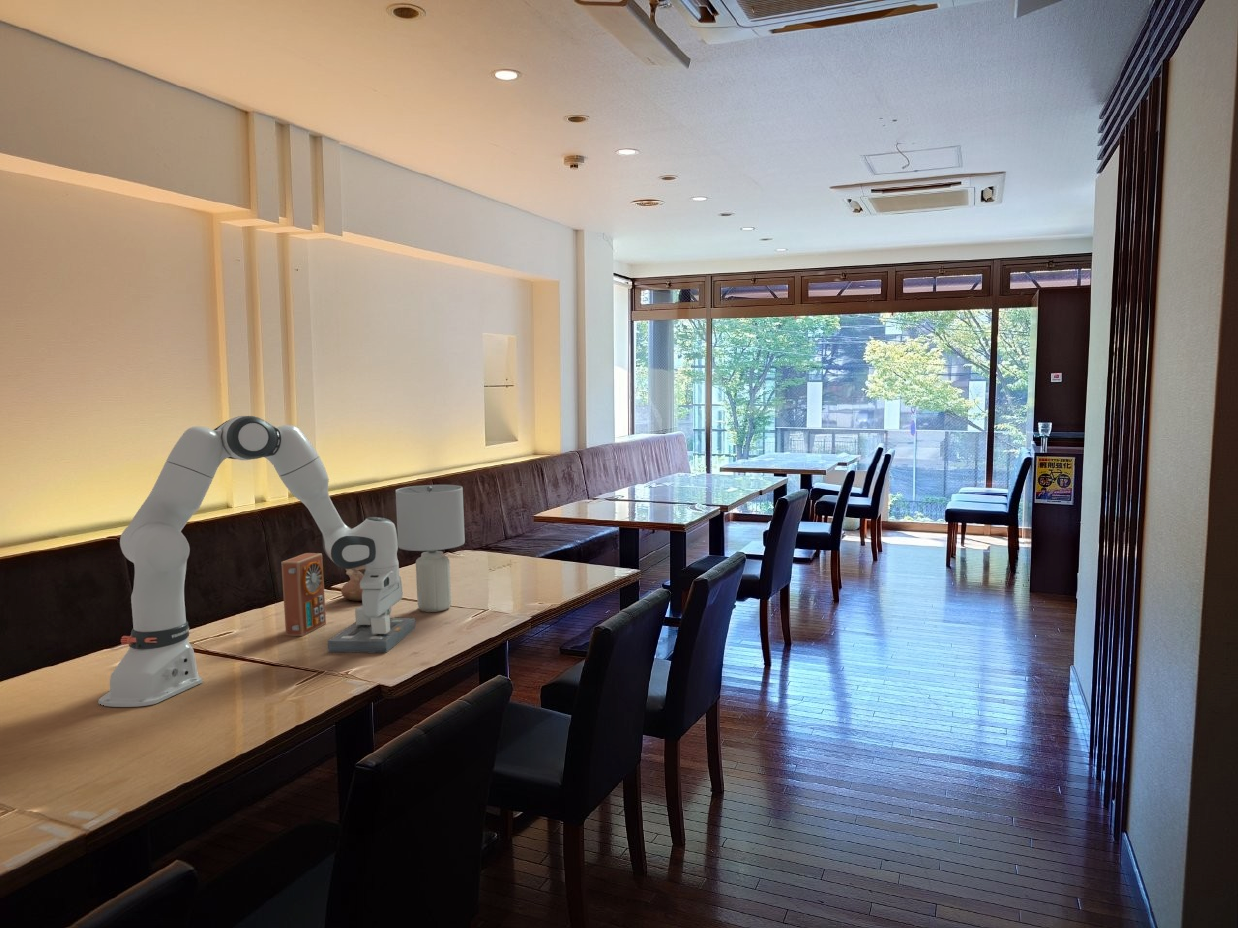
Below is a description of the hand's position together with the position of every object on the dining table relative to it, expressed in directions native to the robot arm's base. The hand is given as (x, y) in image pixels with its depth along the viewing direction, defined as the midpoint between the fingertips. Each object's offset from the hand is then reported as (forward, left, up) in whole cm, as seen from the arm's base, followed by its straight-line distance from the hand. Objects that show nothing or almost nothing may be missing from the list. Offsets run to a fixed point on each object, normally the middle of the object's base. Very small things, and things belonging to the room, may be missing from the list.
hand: (385, 624), depth 230 cm
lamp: (+32, -3, -5) cm, 33 cm away
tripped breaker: (-4, 0, -1) cm, 4 cm away
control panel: (+9, +28, -5) cm, 30 cm away
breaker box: (0, +4, -4) cm, 6 cm away
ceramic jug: (+45, +25, -5) cm, 52 cm away
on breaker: (+4, +8, -1) cm, 9 cm away
